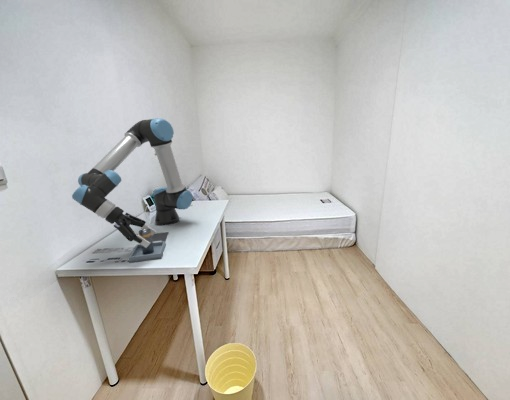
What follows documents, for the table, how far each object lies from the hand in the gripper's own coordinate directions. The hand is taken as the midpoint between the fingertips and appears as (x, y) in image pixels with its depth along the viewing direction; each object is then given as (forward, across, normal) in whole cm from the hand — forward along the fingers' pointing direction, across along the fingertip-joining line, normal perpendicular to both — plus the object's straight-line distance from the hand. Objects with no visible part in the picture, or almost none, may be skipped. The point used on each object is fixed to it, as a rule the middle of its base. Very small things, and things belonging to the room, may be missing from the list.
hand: (151, 239), depth 111 cm
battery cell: (+3, 0, -6) cm, 7 cm away
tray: (+3, 0, -7) cm, 8 cm away
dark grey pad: (+3, -17, -7) cm, 19 cm away
